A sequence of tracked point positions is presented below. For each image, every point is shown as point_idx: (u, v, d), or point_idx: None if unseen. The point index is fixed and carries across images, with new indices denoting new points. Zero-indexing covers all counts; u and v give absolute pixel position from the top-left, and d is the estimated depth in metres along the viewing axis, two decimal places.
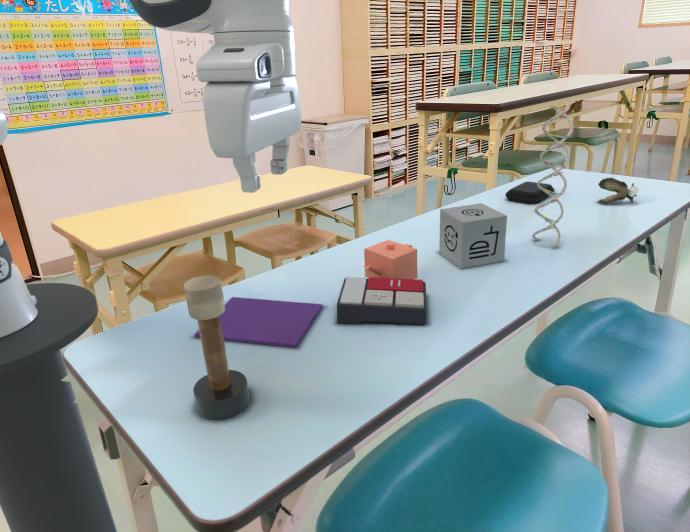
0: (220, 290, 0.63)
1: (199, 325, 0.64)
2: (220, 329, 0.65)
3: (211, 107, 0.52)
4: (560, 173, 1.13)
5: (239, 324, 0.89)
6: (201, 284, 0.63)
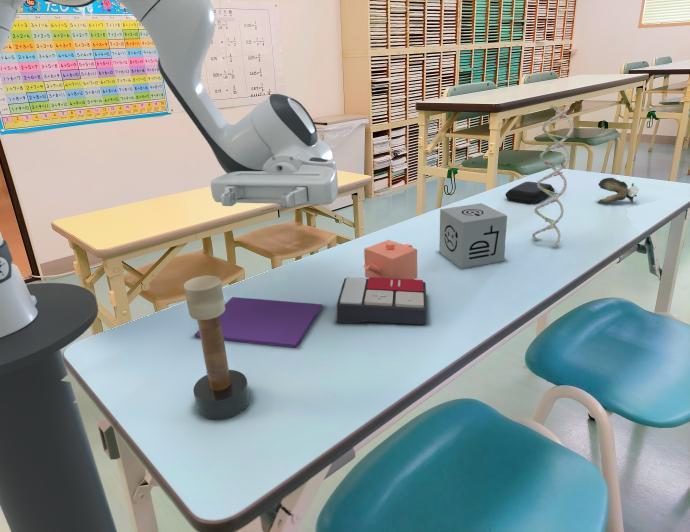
0: (220, 290, 0.63)
1: (199, 325, 0.64)
2: (220, 329, 0.65)
3: (335, 177, 0.82)
4: (560, 173, 1.13)
5: (239, 324, 0.89)
6: (201, 284, 0.63)
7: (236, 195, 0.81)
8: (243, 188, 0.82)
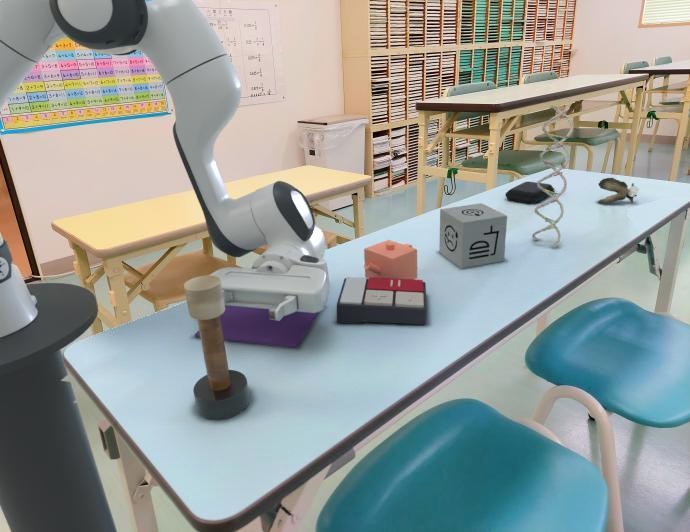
0: (220, 290, 0.63)
1: (199, 325, 0.64)
2: (220, 329, 0.65)
3: (326, 281, 0.80)
4: (560, 173, 1.13)
5: (239, 324, 0.89)
6: (201, 284, 0.63)
7: (225, 299, 0.80)
8: (232, 292, 0.80)
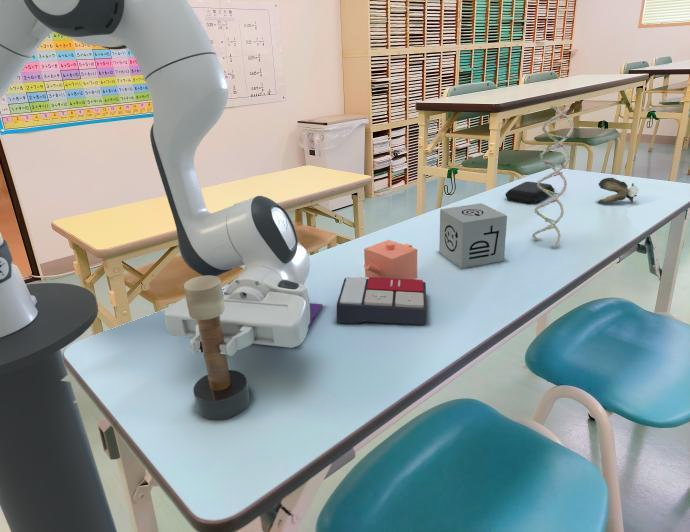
0: (220, 290, 0.63)
1: (199, 324, 0.64)
2: (220, 329, 0.65)
3: (305, 310, 0.71)
4: (560, 173, 1.13)
5: None
6: (201, 284, 0.63)
7: None
8: None
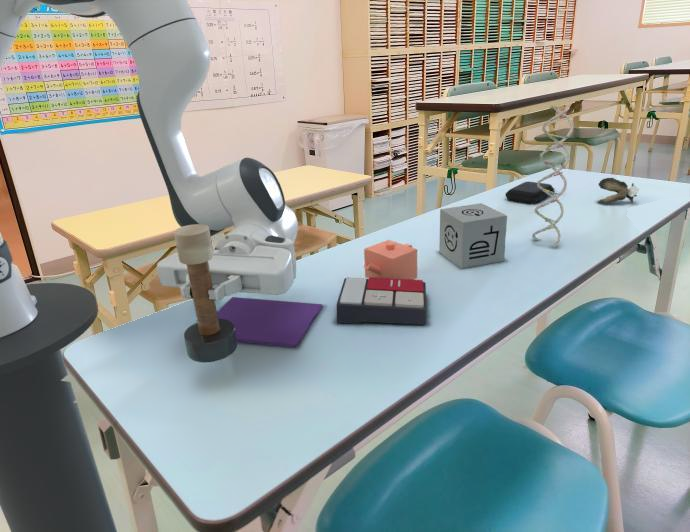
0: (208, 237, 0.67)
1: (189, 270, 0.68)
2: (209, 275, 0.69)
3: (291, 262, 0.75)
4: (560, 173, 1.13)
5: (239, 324, 0.89)
6: (190, 230, 0.66)
7: None
8: None
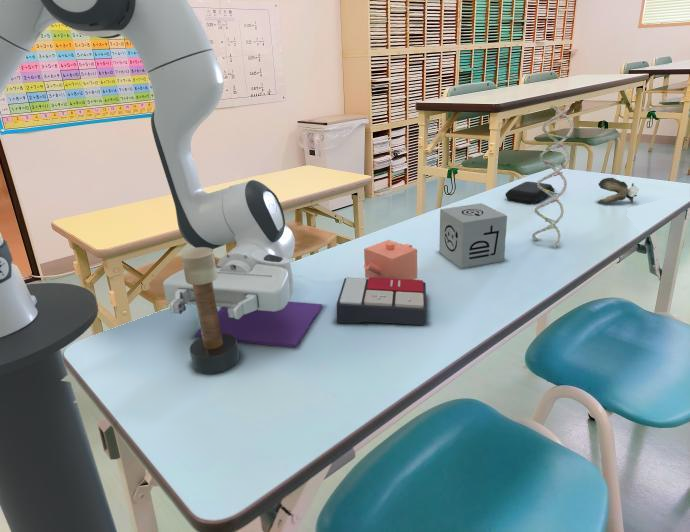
0: (212, 259, 0.73)
1: (195, 289, 0.74)
2: (213, 294, 0.75)
3: (288, 280, 0.81)
4: (560, 173, 1.13)
5: (239, 324, 0.89)
6: (196, 253, 0.72)
7: (188, 298, 0.81)
8: None
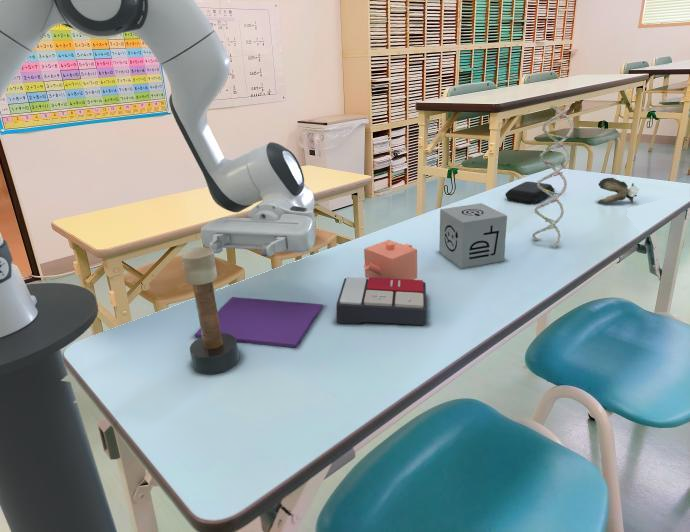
0: (212, 259, 0.73)
1: (195, 289, 0.74)
2: (213, 294, 0.75)
3: (312, 226, 0.91)
4: (560, 173, 1.13)
5: (239, 324, 0.89)
6: (196, 253, 0.72)
7: (223, 241, 0.91)
8: (230, 235, 0.91)
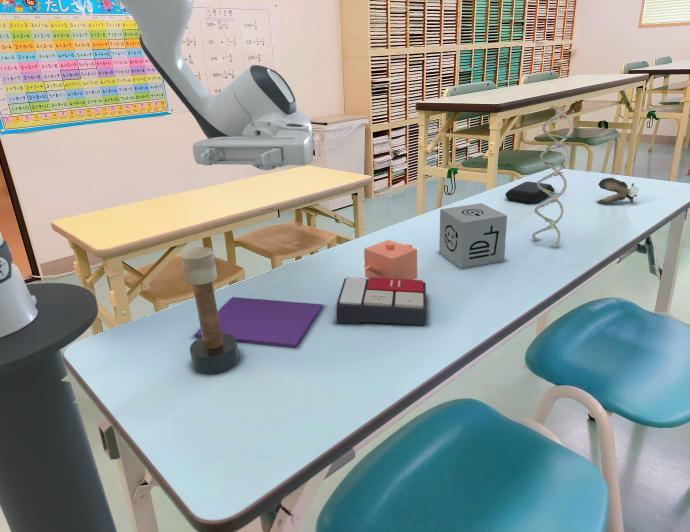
0: (212, 259, 0.73)
1: (195, 289, 0.74)
2: (213, 294, 0.75)
3: (309, 140, 0.87)
4: (560, 173, 1.13)
5: (239, 324, 0.89)
6: (196, 253, 0.72)
7: (216, 157, 0.87)
8: (223, 150, 0.87)
